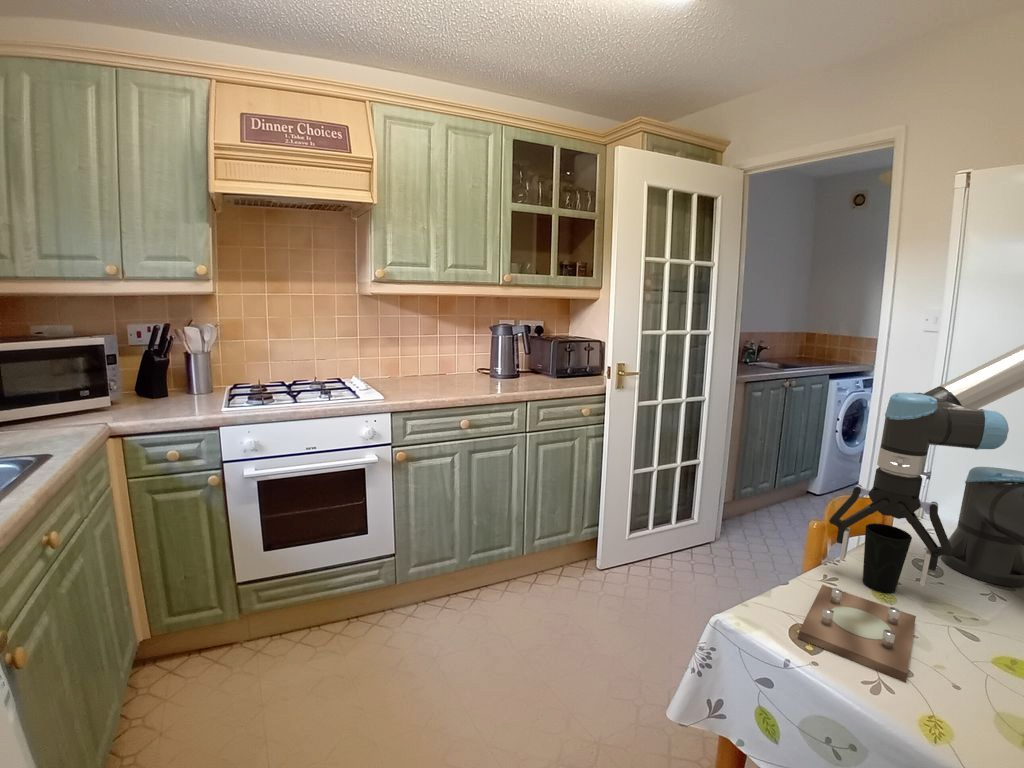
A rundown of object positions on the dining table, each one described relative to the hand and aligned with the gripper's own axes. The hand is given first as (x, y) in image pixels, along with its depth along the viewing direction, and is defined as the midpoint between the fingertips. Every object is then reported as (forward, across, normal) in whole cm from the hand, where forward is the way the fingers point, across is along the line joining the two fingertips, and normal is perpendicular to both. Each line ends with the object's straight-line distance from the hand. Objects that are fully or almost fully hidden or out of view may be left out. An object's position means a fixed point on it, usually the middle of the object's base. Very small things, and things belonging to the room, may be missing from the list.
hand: (880, 570), depth 108 cm
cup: (+4, 0, 0) cm, 4 cm away
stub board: (+4, -1, -21) cm, 21 cm away
